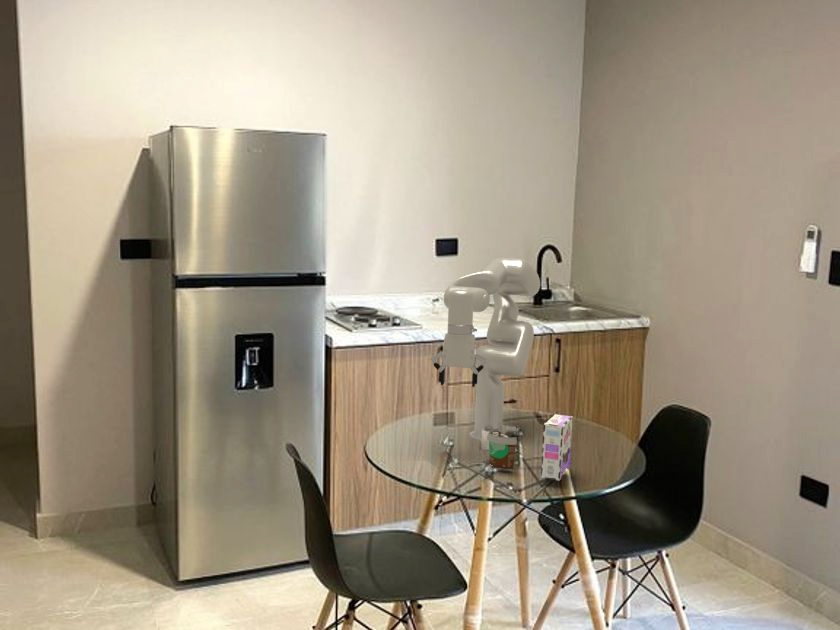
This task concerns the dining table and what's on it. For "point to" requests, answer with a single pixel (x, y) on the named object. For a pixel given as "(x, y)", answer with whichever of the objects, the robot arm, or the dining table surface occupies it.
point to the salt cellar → (485, 437)
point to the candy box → (556, 446)
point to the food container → (501, 449)
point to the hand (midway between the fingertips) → (457, 385)
